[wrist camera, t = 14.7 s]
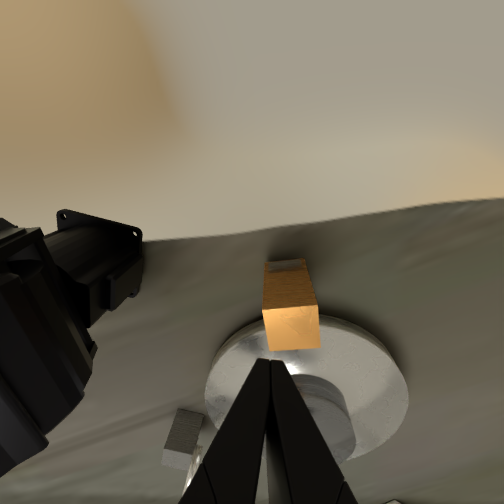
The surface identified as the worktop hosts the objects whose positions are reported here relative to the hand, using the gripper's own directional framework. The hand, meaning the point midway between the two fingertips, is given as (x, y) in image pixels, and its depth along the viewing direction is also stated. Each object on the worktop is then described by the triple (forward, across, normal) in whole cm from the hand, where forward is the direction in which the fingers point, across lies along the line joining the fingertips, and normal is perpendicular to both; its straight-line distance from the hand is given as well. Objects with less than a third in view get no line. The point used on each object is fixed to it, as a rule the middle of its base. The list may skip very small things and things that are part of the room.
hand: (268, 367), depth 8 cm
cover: (+9, -4, +15) cm, 18 cm away
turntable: (+11, -4, +13) cm, 17 cm away
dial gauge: (+12, +7, +23) cm, 27 cm away
